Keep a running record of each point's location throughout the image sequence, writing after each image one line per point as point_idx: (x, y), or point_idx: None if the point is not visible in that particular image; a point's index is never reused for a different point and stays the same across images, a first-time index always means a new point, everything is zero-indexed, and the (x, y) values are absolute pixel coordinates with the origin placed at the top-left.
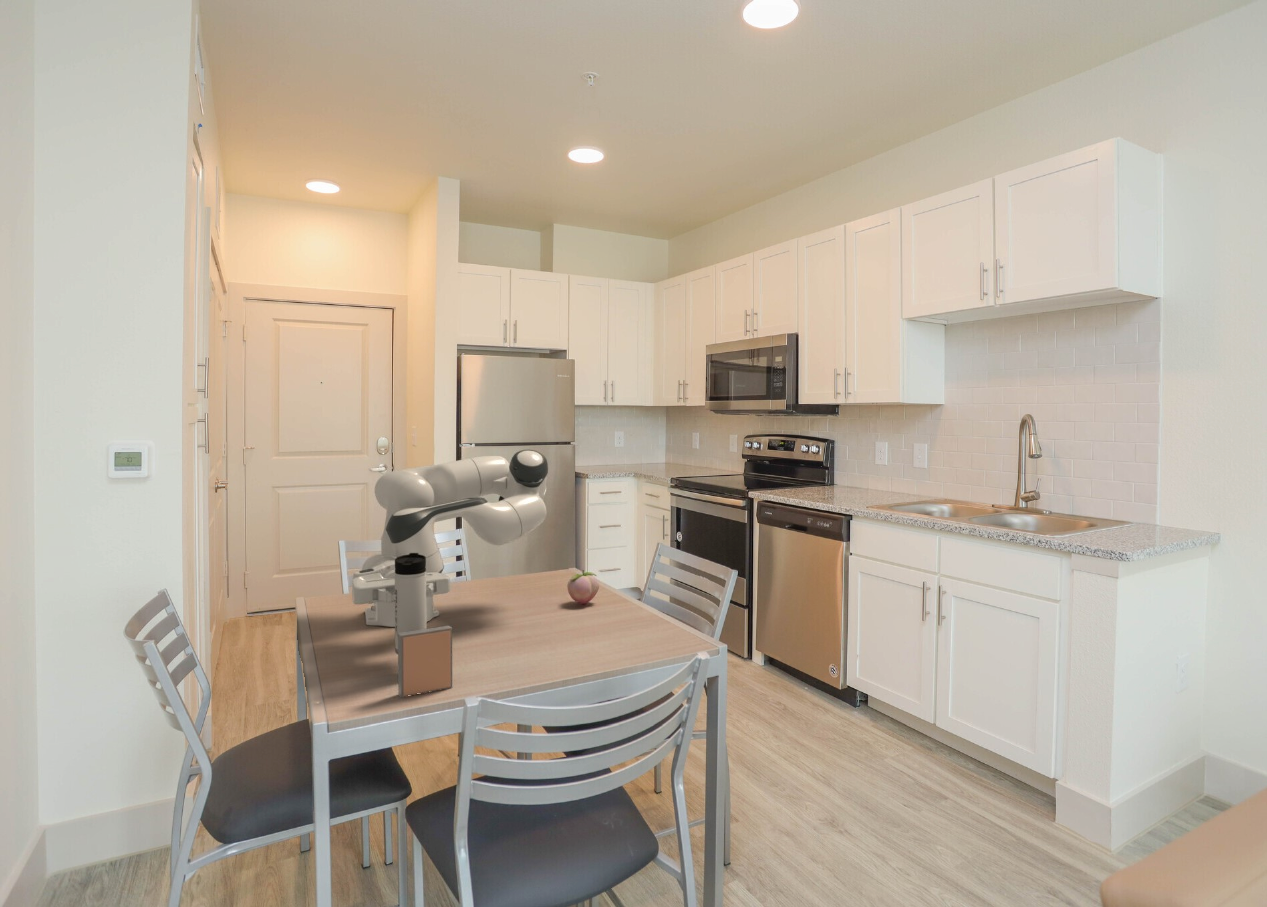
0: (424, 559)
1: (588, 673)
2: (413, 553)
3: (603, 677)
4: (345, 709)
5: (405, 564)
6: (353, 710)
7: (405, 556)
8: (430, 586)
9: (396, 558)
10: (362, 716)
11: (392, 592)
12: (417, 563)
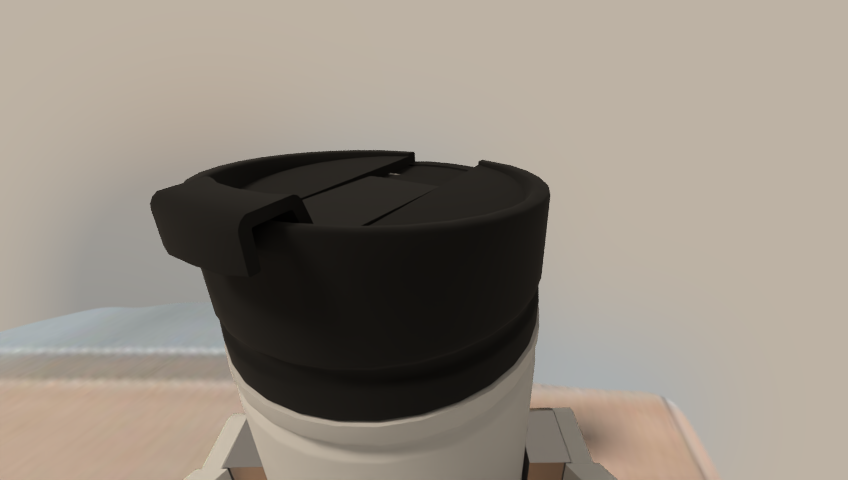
0: (279, 156)
1: (70, 386)
2: (241, 189)
3: (85, 357)
4: (642, 448)
5: (456, 168)
6: (618, 433)
7: (367, 239)
8: (198, 474)
9: (526, 201)
10: (590, 394)
11: (543, 433)
12: (367, 159)
